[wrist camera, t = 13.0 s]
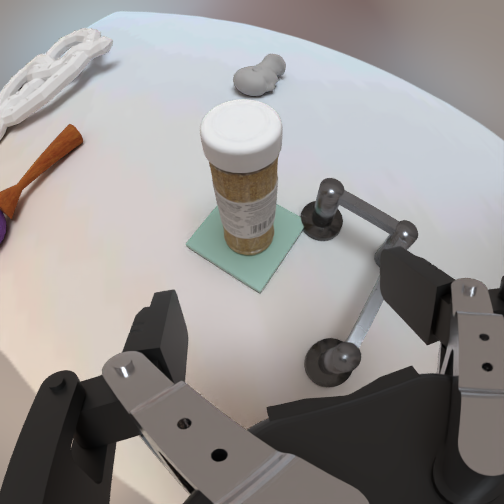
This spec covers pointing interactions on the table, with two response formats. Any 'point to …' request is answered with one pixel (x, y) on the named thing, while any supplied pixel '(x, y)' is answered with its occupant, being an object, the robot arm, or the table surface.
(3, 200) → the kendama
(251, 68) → the grey figurine
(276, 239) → the pad
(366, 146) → the table surface
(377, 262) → the grey jointed rod frame
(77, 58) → the pretzel
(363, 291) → the table surface
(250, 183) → the sprinkles bottle
